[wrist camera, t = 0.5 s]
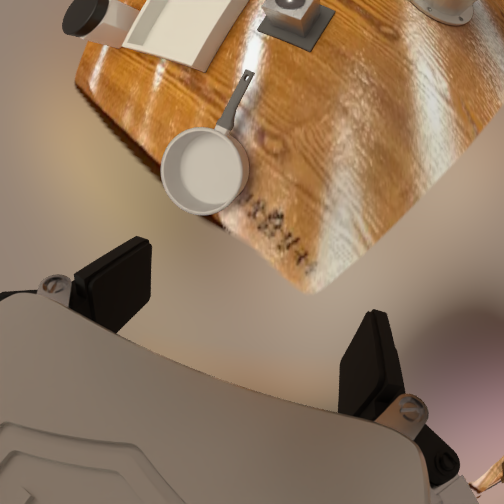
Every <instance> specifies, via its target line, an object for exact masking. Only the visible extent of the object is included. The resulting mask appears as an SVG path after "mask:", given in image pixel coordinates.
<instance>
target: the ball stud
mask: <svg viewBox="0 0 504 504" xmlns="http://www.w3.org/2000/svg"><path fill="white" fill-rule="evenodd" d="M320 12H321V14H320V15H319V17H318V18H317V20H316V21H315V23H314V25H313V26H312V28H311V29H310V31H309V32H308V34H307V36H306V37H305V38H303V37H300V36H298V35H296V34H293V33H291V32H288V31H286V30H283V29H280V28H278V27H275V26H272V25H271V23H270V21H269V19H268V17H267V16H266V17H265V18H264V20H263V21H262V23H261V24H260V26H259V28H258V29H257V30H258V31H259V32H262V33H264V34H267V35H270V36H273V37H275V38H278V39H280V40H283V41H285V42H288V43H290V44H293V45H295V46H297V47H299V48H302V49H304V50H306V51H308V52H311V50H312V49H313V47H314V45H315V44H316V42H317V40H318V39H319V37H320V36H321V34H322V32H323V31H324V29H325V28H326V26H327V25H328V23H329V21H330V20H331V18H332V17H333V15H334V14H335V11H334V10H332V9H329V8H327V7H325V6H322V5H320Z"/></svg>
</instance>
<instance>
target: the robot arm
mask: <svg viewBox="0 0 504 504" xmlns="http://www.w3.org/2000/svg"><path fill="white" fill-rule="evenodd" d="M410 1H411V2H412V3H413V4H414V5H415V6H416V7H417V8H418V9H419V10H421V11H422V12H423V13H425V14H426V15H428V16H429V17H431V18H433V19H435V20H437V21H439V22H441V23H444V24H448V25H454V26H459V25H463V24H466V23H467V22H469V21H470V20H471V18H472V16H473V3H474V2H476V1H477V0H410ZM151 257H152V245H151V244H150V243H149V240H148V239H144V238H142V237H138V236H136V237H134V238H132V239H130V240H128V241H127V242H125V243H123V244H122V245H120V246H118V247H117V248H115V249H113V250H112V251H110V252H108V253H107V254H105V255H103V256H102V257H100V258H99V259H97V260H95V261H94V262H92V263H91V264H89V265H87V266H86V267H84V268H83V269H81V270H79V271H78V272H76V273H75V274H74V279H75V280H74V281H72V282H71V280H70V278H68V277H67V276H64V275H52V276H48V277H46V278H45V279H43V280H42V281H41V283H40V285H39V288H38V290H26V291H10V292H2V293H0V504H479V503H478V501H477V499H476V497H475V496H474V494H473V492H472V490H471V489H470V487H469V485H468V483H467V482H466V480H465V478H464V476H463V475H461V476H460V477H459V475H458V472H459V468H460V461H459V458H458V456H457V454H456V453H455V452H454V450H453V449H451V448H450V447H449V446H448V445H447V444H446V443H445V442H444V441H443V440H442V439H441V438H440V437H439V436H438V435H437V434H435V433H434V432H433V431H432V430H431V429H430V428H429V427H428V426H427V425H426V424H425V423H426V422H427V420H428V414H429V412H428V409H427V406H426V405H425V403H424V402H423V401H422V400H421V399H420V398H418V397H417V396H415V395H413V394H406V393H405V388H404V383H403V377H402V372H401V367H400V362H399V358H398V353H397V350H396V348H395V345H394V341H393V337H392V332H391V328H390V324H389V320H388V317H387V314H386V313H385V312H382V311H378V310H375V309H373V310H372V311H371V312H369V311H368V312H367V313H366V315H365V316H364V319H363V320H362V322H361V324H360V326H359V328H358V330H357V332H356V334H355V336H354V338H353V339H352V341H351V343H350V345H349V347H348V349H347V350H346V352H345V354H344V356H343V357H342V360H341V362H340V376H339V402H338V413H337V412H332V411H328V410H324V409H319V408H315V407H311V406H307V405H303V404H299V403H295V402H292V401H288V400H284V399H281V398H277V397H274V396H271V395H267V394H264V393H261V392H257V391H254V390H251V389H248V388H245V387H242V386H239V385H236V384H233V383H230V382H227V381H224V380H222V379H219V378H216V377H213V376H211V375H208V374H206V373H203V372H201V371H198V370H195V369H193V368H190V367H188V366H185V365H183V364H181V363H178V362H176V361H173V360H171V359H169V358H167V357H164V356H162V355H160V354H158V353H155V352H153V351H151V350H149V349H147V348H145V347H142V346H140V345H138V344H136V343H134V342H132V341H130V340H128V339H126V338H124V337H122V336H120V335H118V334H116V333H117V332H118V331H119V330H120V329H121V328H122V327H123V326H124V325H125V324H126V323H127V322H128V321H129V320H130V319H131V318H132V317H133V316H134V315H135V314H136V313H137V312H138V311H139V310H140V309H141V308H142V307H143V306H144V305H145V304H146V303H147V302H148V301H149V299H150V296H151Z"/></svg>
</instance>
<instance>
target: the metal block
mask: <svg viewBox="0 0 504 504" xmlns="http://www.w3.org/2000/svg"><path fill="white" fill-rule="evenodd" d="M262 8H263V10H264V12H265V14H266V16H267V17H268V19H269V21H270V23H271V25H272V26H275V27H278V28H280V29H283V30H286V31H288V32H291V33H293V34H296V35H298V36H300V37H303V38H305V37H306V36H307V34H308V32H309V31H310V29H311V28H312V26H313V25H314V23H315V21H316V20H317V18H318V17H319V15H320V14H321V12H320V0H266V1H265V2H264V3H263V5H262Z"/></svg>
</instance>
